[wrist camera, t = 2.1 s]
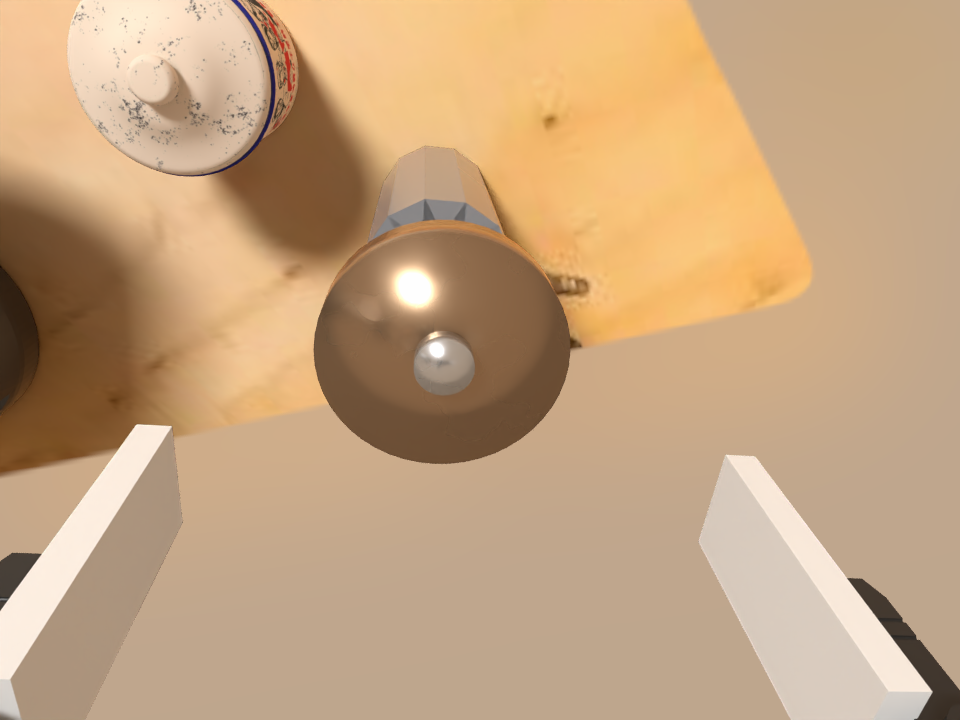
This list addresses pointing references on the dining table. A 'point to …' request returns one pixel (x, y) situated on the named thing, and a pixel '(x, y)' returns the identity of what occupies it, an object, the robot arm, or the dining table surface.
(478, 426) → the plunger
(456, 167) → the cylinder
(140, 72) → the teacup with lid
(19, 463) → the dining table surface
